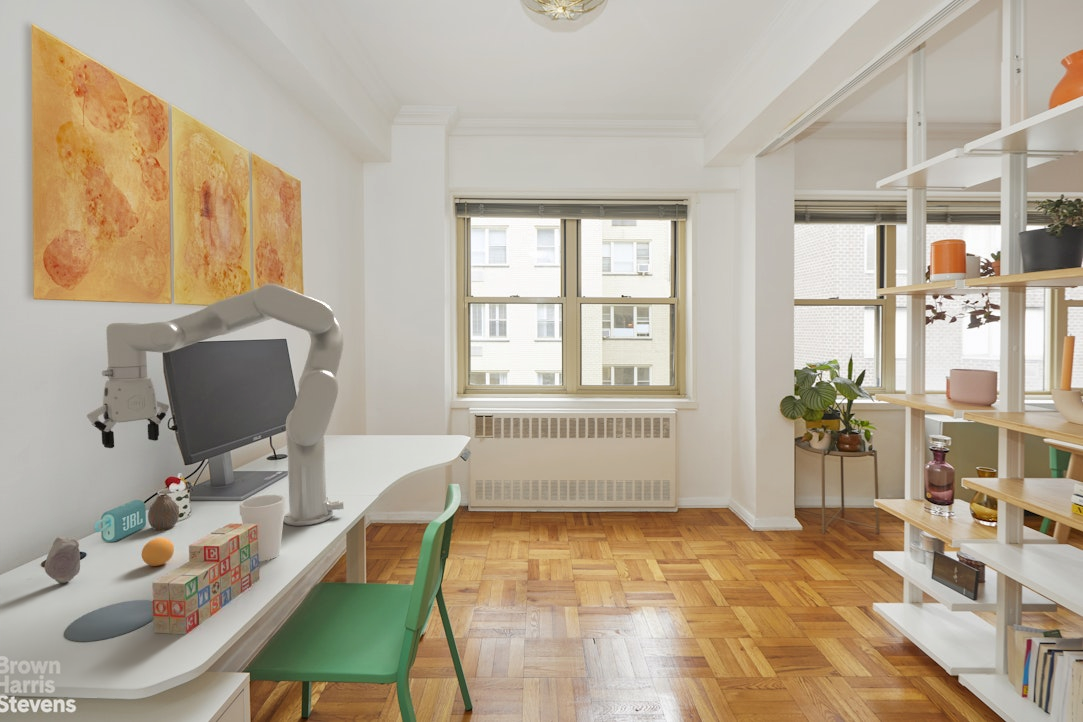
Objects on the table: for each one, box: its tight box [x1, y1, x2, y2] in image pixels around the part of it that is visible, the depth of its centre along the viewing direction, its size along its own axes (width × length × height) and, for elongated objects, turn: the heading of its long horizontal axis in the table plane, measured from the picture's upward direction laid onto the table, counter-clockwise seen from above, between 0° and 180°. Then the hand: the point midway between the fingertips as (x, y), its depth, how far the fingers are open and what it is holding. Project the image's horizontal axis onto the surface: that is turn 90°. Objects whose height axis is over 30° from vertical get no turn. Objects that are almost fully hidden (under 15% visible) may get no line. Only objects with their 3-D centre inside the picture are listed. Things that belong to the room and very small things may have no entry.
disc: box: [64, 599, 154, 643], centre depth 102 cm, size 14×14×1 cm
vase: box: [147, 493, 180, 531], centre depth 148 cm, size 7×7×9 cm
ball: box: [141, 537, 175, 567], centre depth 125 cm, size 6×6×6 cm
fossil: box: [44, 536, 81, 584], centre depth 116 cm, size 6×4×10 cm, turn 148°
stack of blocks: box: [151, 523, 261, 635], centre depth 107 cm, size 21×6×12 cm, turn 175°
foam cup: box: [239, 494, 286, 562], centre depth 129 cm, size 10×9×13 cm
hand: (131, 443), depth 136 cm, fingers open, 9 cm apart
